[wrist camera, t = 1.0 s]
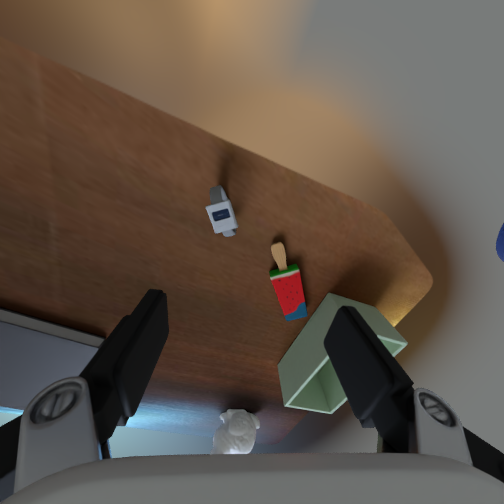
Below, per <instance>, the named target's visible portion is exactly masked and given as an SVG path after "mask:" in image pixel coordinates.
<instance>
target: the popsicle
mask: <svg viewBox="0 0 504 504" xmlns="http://www.w3.org/2000/svg"><path fill="white" fill-rule="evenodd" d="M271 250H272V254H273V257H274V260H275V261H276V263H277V264H278V267H279V269H275V270H272V271H269V273H270V278H271V281H272V283H273V286H274V289H275V291H276V294H277V297H278V299H279V302H280V305H281V307H282V310H283V313H284V315H285V318H286V320H287V321H290V320H294V319H298V318H302V317H306V316H307V309H306V304H305V298H304V293H303V287H302V282H301V276H300V271H299V268H298V266H297V264H293V265H289V266H287V265H286V253H285V249H284V246H283V244H282V243H281V242H277V243H274V244H272V245H271Z"/></svg>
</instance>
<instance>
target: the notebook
mask: <svg viewBox="0 0 504 504" xmlns="http://www.w3.org/2000/svg"><path fill="white" fill-rule="evenodd" d="M105 339H106V338H104V337H101V336H97V335H94V334H90V333H87V332H83V331H80V330H76V329H73V328H69V327H66V326H62V325H59V324H55V323H52V322H48V321H45V320H41V319H38V318H35V317H31V316H28V315H24V314H21V313H17V312H14V311H10V310H7V309H3V308H0V406H3V407H9V408H14V409H20V410H25V408H26V407H27V405H28V404H29V402H30V401H31V400H32V399H33V398H34V397H35V396H36V395H37V394H38V393H39V392H40V391H42V390H43V389H44V388H46V387H47V386H49V385H51V384H52V383H54V382H56V381H58V380H61V379H63V378H66V377H72V376H79V375H80V373H81V372H82V371H83V369H84V368H85V367H86V365H87V364H88V363H89V362H90V360H91V359H92V358H93V356H94V355H95V354H96V352H97V351H98V350H99V348H100V347H101V346H102V344H103V343H104V342H105Z"/></svg>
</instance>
